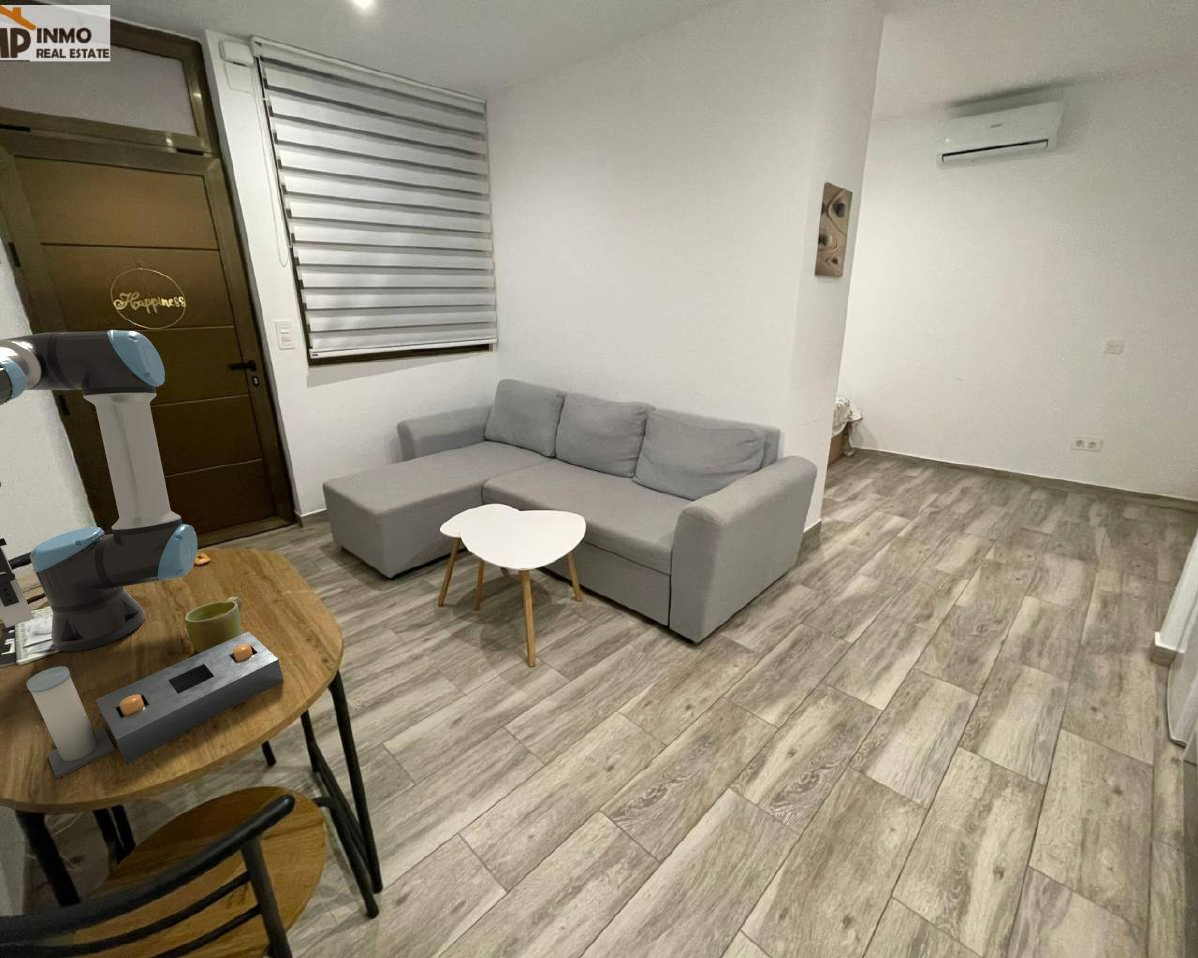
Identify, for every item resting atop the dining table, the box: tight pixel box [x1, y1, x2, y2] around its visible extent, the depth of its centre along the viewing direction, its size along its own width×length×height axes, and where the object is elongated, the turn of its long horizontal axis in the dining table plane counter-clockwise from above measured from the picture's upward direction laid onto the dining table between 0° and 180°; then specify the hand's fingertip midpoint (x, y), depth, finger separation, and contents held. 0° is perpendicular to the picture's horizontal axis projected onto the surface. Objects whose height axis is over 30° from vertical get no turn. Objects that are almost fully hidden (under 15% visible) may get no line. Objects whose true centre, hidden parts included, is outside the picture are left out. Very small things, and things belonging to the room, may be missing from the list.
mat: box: [47, 726, 116, 780], centre depth 86 cm, size 7×7×1 cm
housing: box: [95, 631, 284, 764], centre depth 97 cm, size 14×24×5 cm, turn 142°
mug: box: [184, 596, 244, 654], centre depth 113 cm, size 12×10×10 cm
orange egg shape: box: [233, 644, 253, 663], centre depth 103 cm, size 3×3×6 cm
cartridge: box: [25, 666, 98, 761], centre depth 84 cm, size 5×5×15 cm
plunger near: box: [119, 695, 145, 717], centre depth 90 cm, size 3×3×6 cm
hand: (13, 605), depth 76 cm, fingers open, 13 cm apart
